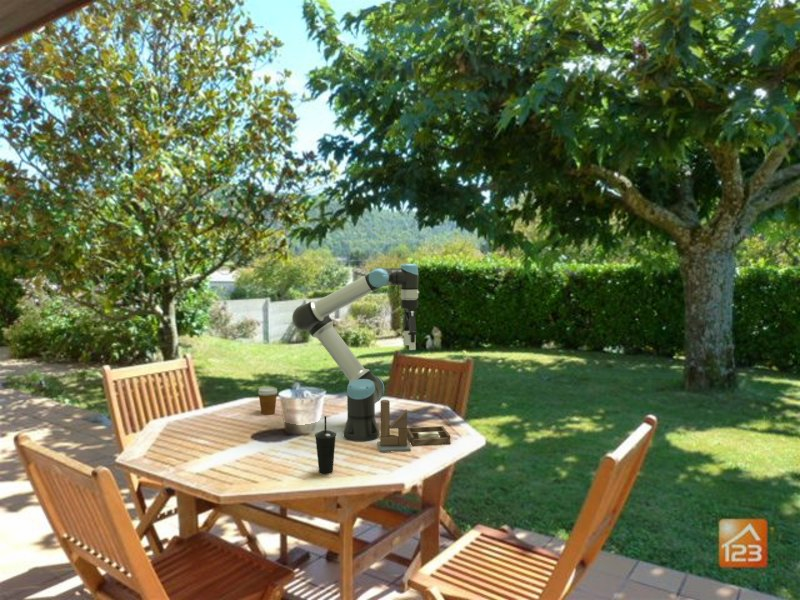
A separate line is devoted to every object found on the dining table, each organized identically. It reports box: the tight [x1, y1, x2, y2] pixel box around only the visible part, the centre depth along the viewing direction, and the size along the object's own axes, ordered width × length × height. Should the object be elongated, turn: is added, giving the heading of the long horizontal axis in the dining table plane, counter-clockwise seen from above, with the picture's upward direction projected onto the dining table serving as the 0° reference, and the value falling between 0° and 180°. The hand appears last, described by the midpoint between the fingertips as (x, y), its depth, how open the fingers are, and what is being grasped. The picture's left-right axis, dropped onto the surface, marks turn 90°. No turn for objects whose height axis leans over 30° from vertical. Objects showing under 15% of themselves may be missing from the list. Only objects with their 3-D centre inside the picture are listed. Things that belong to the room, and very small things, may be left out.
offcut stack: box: [418, 432, 440, 439], centre depth 240 cm, size 9×3×4 cm, turn 98°
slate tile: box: [376, 440, 412, 453], centre depth 234 cm, size 12×11×1 cm
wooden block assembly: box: [379, 399, 408, 446], centre depth 234 cm, size 4×11×18 cm, turn 90°
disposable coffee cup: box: [257, 386, 278, 416], centre depth 286 cm, size 10×10×12 cm
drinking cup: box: [314, 415, 337, 475], centre depth 207 cm, size 8×8×20 cm
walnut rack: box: [407, 425, 451, 447], centre depth 244 cm, size 16×14×4 cm
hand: (409, 347), depth 256 cm, fingers open, 13 cm apart
